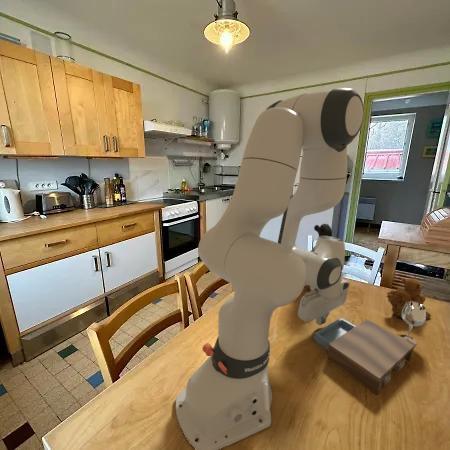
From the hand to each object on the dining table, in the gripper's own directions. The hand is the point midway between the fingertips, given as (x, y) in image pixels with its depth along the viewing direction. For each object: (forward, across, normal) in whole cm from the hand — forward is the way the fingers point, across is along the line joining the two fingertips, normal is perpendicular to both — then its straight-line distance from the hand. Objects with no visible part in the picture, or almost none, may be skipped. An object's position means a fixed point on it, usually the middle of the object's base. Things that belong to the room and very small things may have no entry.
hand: (320, 323), depth 80 cm
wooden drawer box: (+2, 0, -16) cm, 16 cm away
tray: (+2, 0, -12) cm, 12 cm away
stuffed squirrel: (+2, +33, -12) cm, 35 cm away
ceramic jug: (+2, +21, +16) cm, 26 cm away
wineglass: (+2, +18, -18) cm, 26 cm away
